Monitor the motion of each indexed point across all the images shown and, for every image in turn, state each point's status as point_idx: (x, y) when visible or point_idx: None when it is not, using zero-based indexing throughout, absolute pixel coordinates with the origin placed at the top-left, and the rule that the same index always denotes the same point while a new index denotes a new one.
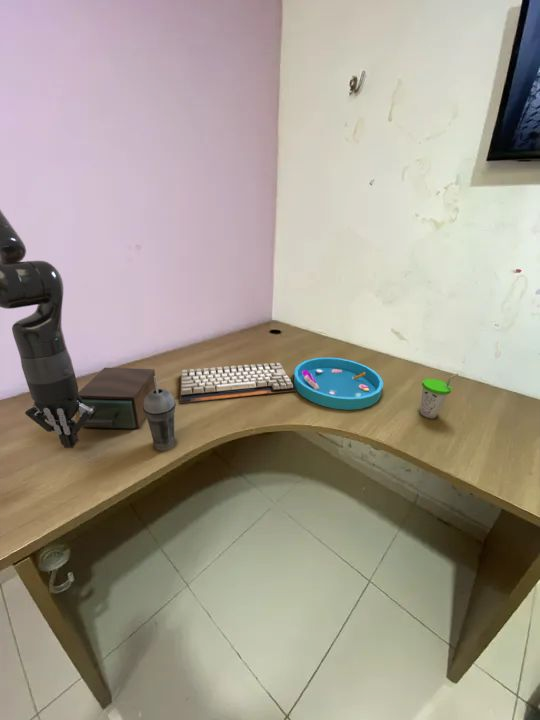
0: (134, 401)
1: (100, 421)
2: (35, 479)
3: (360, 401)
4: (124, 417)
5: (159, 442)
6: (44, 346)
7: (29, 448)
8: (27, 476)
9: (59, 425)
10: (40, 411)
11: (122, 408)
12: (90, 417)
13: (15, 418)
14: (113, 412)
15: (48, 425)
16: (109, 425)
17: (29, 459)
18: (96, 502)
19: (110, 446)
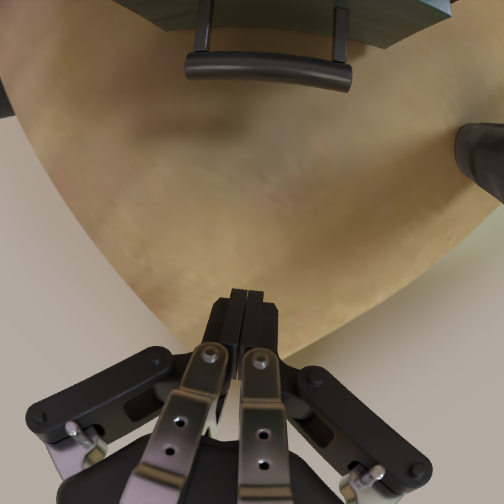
0: (455, 1)
1: (288, 75)
2: (157, 256)
3: None
4: (370, 25)
5: (488, 192)
6: None
7: (71, 143)
8: (133, 244)
9: (218, 424)
10: (102, 458)
11: (388, 7)
12: (209, 32)
13: (5, 56)
14: (324, 3)
15: (161, 410)
16: (282, 25)
17: (96, 185)
18: (336, 327)
19: (317, 123)
